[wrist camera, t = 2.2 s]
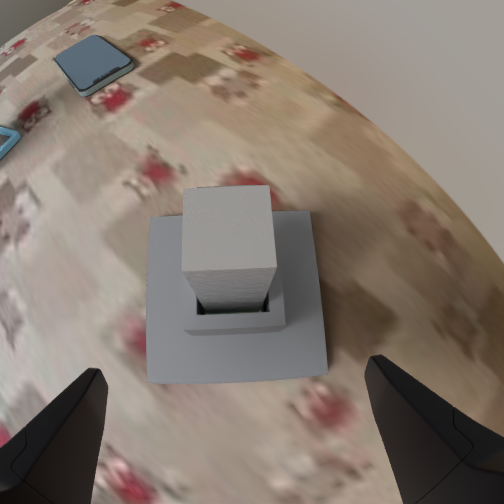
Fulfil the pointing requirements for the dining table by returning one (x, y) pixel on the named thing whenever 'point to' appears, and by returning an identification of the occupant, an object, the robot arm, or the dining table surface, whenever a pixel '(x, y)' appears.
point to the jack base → (235, 315)
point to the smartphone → (92, 64)
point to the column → (228, 247)
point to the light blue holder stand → (10, 142)
